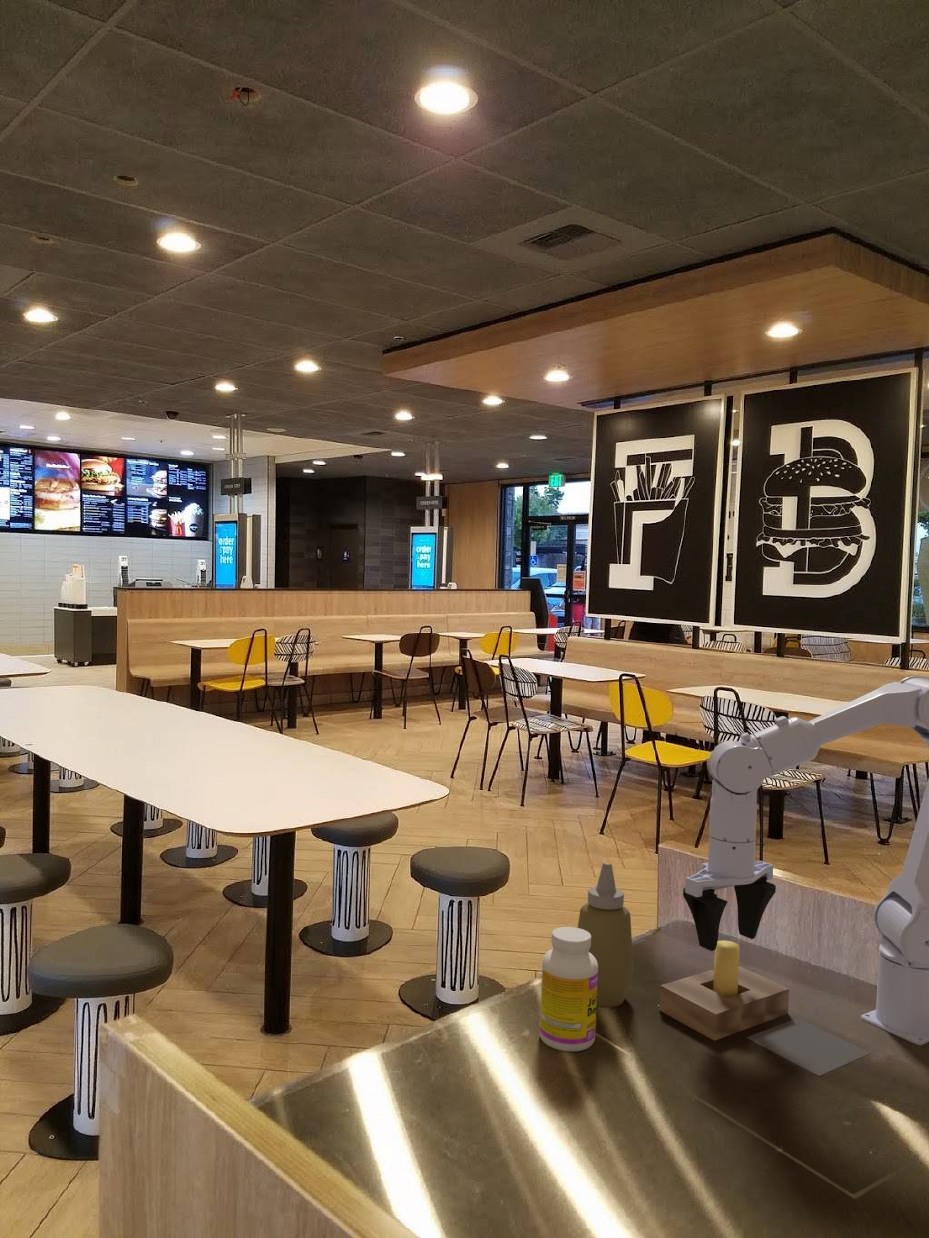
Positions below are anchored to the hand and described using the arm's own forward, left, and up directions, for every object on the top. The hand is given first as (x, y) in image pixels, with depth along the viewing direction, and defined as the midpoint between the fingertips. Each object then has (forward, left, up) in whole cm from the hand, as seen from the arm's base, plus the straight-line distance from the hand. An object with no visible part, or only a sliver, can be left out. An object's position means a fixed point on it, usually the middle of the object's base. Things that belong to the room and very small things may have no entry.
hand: (727, 941), depth 117 cm
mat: (-2, +11, -9) cm, 15 cm away
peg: (0, 0, -9) cm, 9 cm away
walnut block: (0, 0, -9) cm, 9 cm away
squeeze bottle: (+11, -11, -10) cm, 18 cm away
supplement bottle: (+22, -5, -10) cm, 25 cm away
